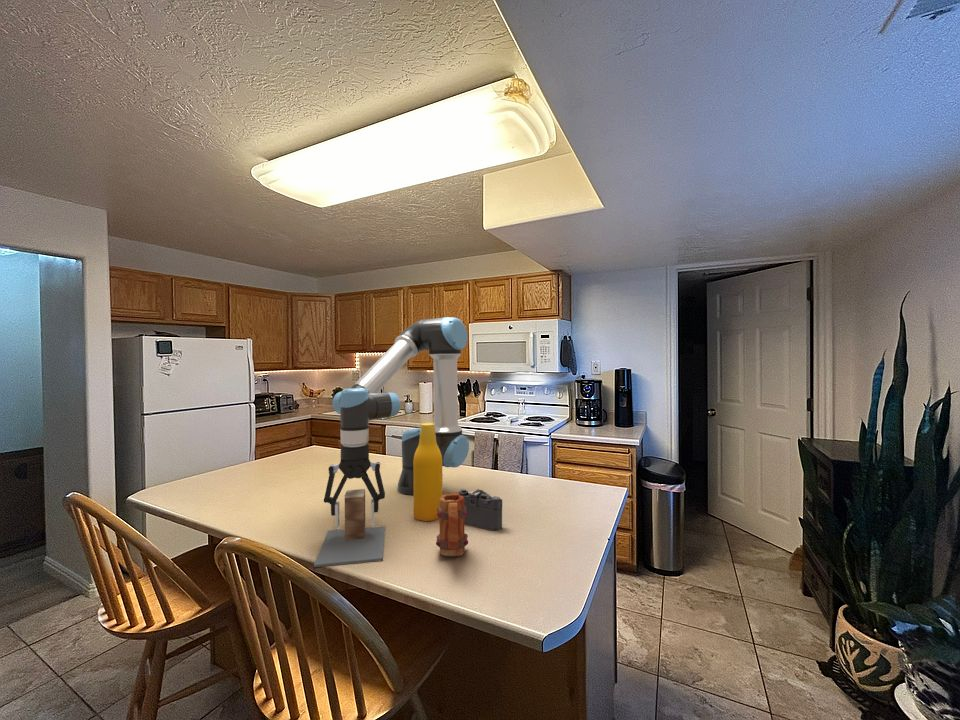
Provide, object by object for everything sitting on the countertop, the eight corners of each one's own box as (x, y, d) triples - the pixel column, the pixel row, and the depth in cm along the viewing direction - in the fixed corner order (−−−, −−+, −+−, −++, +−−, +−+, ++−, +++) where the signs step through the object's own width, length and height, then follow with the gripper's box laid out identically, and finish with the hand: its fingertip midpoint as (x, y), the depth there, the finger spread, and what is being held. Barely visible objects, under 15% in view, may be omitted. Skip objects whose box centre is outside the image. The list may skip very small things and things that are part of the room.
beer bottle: (407, 518, 127) (407, 425, 127) (422, 508, 135) (422, 421, 135) (434, 523, 123) (433, 427, 123) (447, 512, 132) (447, 422, 132)
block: (365, 531, 116) (365, 488, 116) (363, 538, 112) (363, 494, 112) (347, 532, 115) (346, 490, 115) (344, 540, 111) (344, 495, 111)
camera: (512, 519, 126) (511, 487, 126) (497, 532, 116) (497, 497, 116) (471, 511, 133) (471, 481, 133) (454, 524, 123) (454, 491, 123)
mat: (385, 527, 120) (385, 525, 120) (382, 560, 100) (382, 558, 100) (328, 532, 117) (328, 530, 117) (313, 567, 97) (313, 564, 97)
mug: (436, 545, 109) (436, 488, 109) (467, 543, 109) (467, 487, 109) (435, 573, 94) (435, 508, 94) (470, 571, 95) (470, 507, 95)
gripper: (394, 439, 119) (394, 517, 119) (316, 443, 115) (316, 523, 115) (394, 445, 112) (394, 527, 112) (310, 448, 108) (311, 534, 108)
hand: (355, 525), depth 113 cm, fingers open, 9 cm apart
